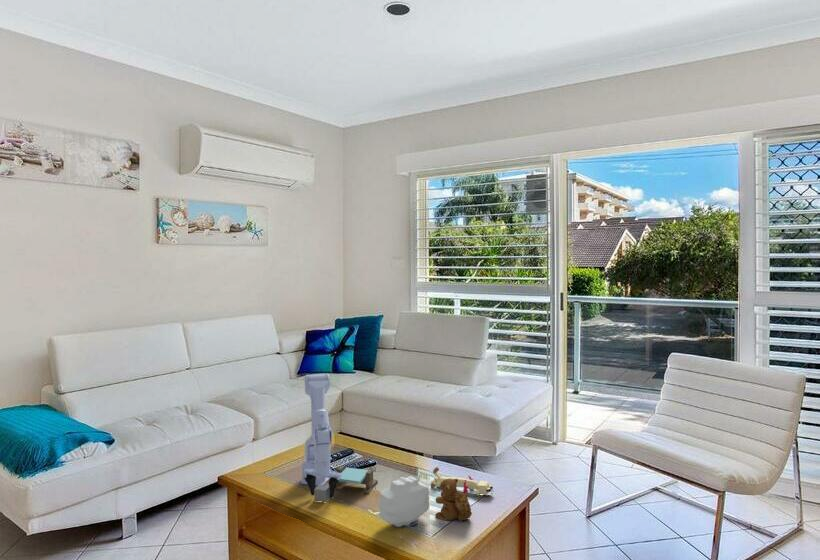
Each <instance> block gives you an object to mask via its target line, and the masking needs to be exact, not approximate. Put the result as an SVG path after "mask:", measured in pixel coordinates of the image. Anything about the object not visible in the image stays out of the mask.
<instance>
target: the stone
mask: <svg viewBox="0 0 820 560" xmlns="http://www.w3.org/2000/svg"><path fill="white" fill-rule="evenodd" d="M313 498H314V499H313V500H315V501H322V502H326V501H327V500H328V499H329V500H330V499H331V498H330V488H329V484H324V485H322V484H319V485H318V486H315V489H314V495H313ZM329 500H328V501H329ZM328 501H327V502H328ZM327 502H326V503H327Z"/></svg>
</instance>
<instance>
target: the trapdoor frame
mask: <svg viewBox="0 0 820 560" xmlns="http://www.w3.org/2000/svg"><path fill="white" fill-rule="evenodd" d="M345 468H346V467H345V465H340V466H339V467H338V468H337V470H336V472H338V473H341V472H342V471H343V470H344V469H345ZM367 470H368V471H367V472H366V484H365V488H364V494H370V493H371V491H372V490H373V489H374V488H375V487H376V485H377V484H378V479H375V478H374V469H372V468H369V469H367ZM347 483H348V482H340V481H338V483H337V485H336V488H335V490H341V489H342V488H343V487H344V486H345V485H346V484H347Z"/></svg>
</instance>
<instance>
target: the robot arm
mask: <svg viewBox="0 0 820 560" xmlns="http://www.w3.org/2000/svg"><path fill="white" fill-rule="evenodd" d="M330 385H331V379H330V375H329V373H319V374H318V373H317V374H306V375H304V393H305V394H306V396H307V395H308V396H309V399H310V405H311V406H310V409H311V410H310V411H311V413H310V415H311V421H310V422H311V436H310V437H308V438H307V439H306V440H305V442H304V460H303V461H302V465H301V482H300V483H301V484H303V485H308V488H309V492H310V495H311V496H312V497H314V489H315V488H316V487H317V486H318V485H319V484H322V485H326V484H327V482H328V485H329V488H330V499H333V498H334V496H335V490H336V485H337V483H338V481H339V480H340V479H341V473H338V472H337V471H335V470H332V469H331V444H332V441H333V432H332V428H331V425H330V420H329V412H328V411H327V410H326V407H325V405H326V402H325V401H326V400H325V395H326V394H327V393H328V391H329V390H330Z"/></svg>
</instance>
